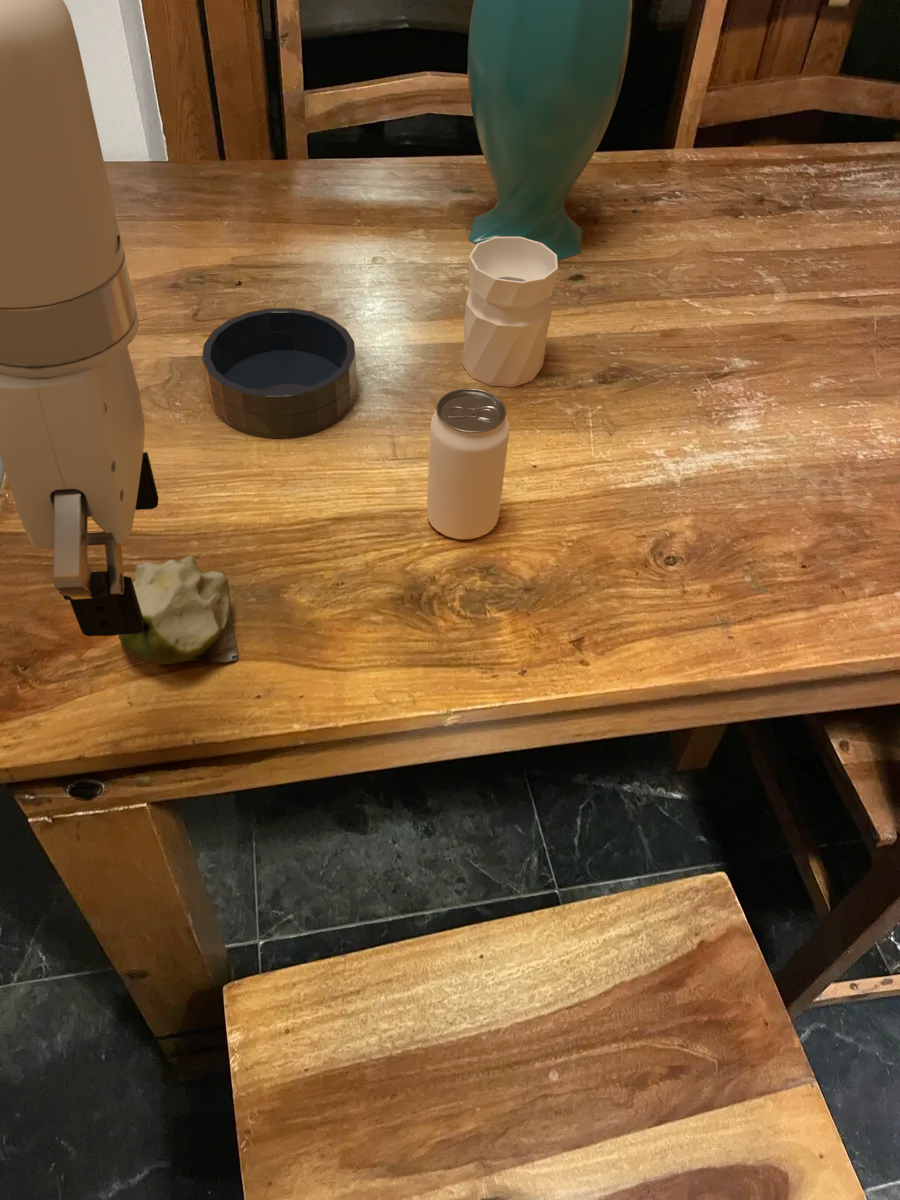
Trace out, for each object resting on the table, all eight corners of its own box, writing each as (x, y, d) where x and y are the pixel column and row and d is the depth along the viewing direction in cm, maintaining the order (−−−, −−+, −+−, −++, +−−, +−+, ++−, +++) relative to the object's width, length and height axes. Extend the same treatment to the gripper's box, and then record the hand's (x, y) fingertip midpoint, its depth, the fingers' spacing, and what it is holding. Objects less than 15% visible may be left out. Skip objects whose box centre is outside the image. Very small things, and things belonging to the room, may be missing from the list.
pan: (205, 441, 89) (197, 398, 85) (214, 351, 98) (207, 309, 95) (359, 436, 90) (358, 394, 87) (353, 348, 100) (351, 306, 96)
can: (498, 544, 82) (512, 437, 73) (425, 541, 82) (429, 433, 73) (497, 493, 86) (510, 386, 77) (427, 490, 86) (432, 383, 77)
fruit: (150, 709, 71) (103, 645, 65) (126, 627, 77) (82, 561, 71) (263, 658, 72) (228, 590, 66) (231, 581, 78) (196, 513, 72)
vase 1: (448, 260, 113) (462, -29, 90) (468, 194, 124) (486, -78, 101) (590, 278, 111) (642, -9, 89) (598, 210, 123) (645, -61, 100)
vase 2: (445, 367, 98) (451, 262, 89) (489, 330, 103) (499, 226, 94) (515, 398, 96) (529, 293, 86) (558, 359, 100) (575, 255, 91)
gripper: (-8, 204, 46) (76, 467, 59) (-98, 428, 35) (30, 692, 48) (149, 204, 47) (198, 463, 60) (110, 422, 36) (181, 683, 49)
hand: (124, 565), depth 54 cm, fingers open, 9 cm apart
